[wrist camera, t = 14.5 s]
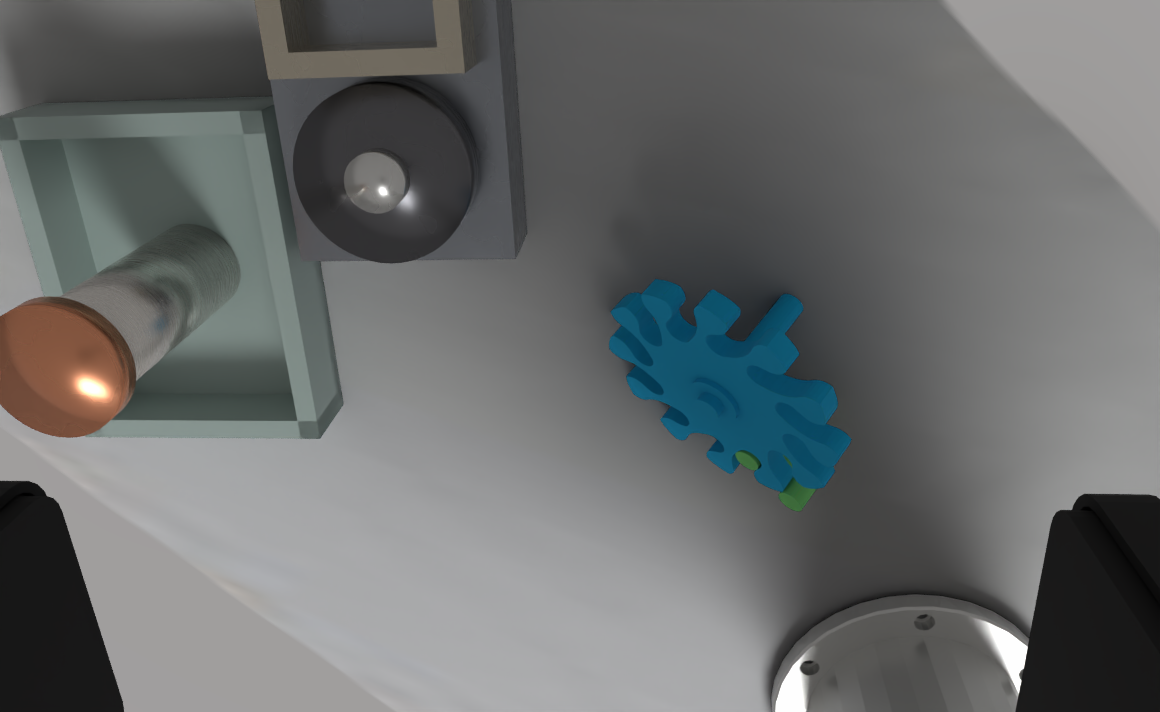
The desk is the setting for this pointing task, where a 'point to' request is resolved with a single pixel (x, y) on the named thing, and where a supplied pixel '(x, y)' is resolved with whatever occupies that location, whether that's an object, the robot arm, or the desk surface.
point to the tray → (173, 197)
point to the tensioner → (398, 127)
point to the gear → (732, 387)
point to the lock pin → (110, 330)
